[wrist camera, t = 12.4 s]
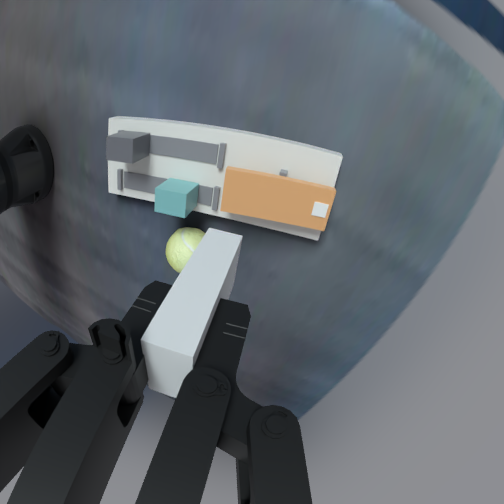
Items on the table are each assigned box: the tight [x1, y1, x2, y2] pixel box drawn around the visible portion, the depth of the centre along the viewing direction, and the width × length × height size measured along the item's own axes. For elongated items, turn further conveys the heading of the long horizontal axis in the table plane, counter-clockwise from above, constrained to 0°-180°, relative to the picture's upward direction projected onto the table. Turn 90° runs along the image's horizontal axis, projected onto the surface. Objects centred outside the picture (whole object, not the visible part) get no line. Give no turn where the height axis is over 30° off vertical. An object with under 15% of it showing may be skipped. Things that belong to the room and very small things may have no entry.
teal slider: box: [155, 178, 199, 218], centre depth 34 cm, size 4×3×4 cm
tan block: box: [220, 166, 336, 231], centre depth 32 cm, size 12×5×1 cm, turn 80°
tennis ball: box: [166, 227, 206, 273], centre depth 40 cm, size 6×7×7 cm
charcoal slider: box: [106, 131, 150, 164], centre depth 32 cm, size 4×3×4 cm
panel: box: [108, 116, 343, 241], centre depth 35 cm, size 30×11×3 cm, turn 80°
